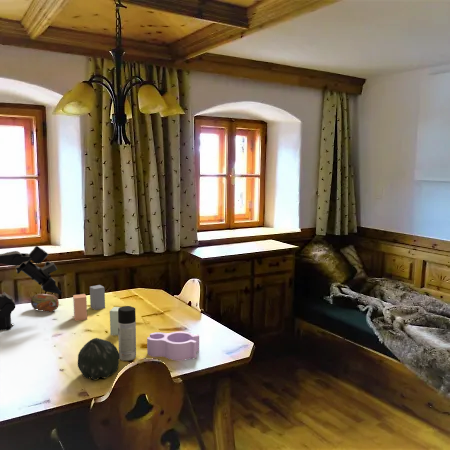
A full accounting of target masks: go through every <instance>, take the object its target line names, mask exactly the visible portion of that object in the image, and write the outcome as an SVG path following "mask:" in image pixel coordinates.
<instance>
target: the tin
mask: <svg viewBox="0 0 450 450" xmlns="http://www.w3.org/2000/svg"><path fill="white" fill-rule="evenodd" d="M59 304H60V302H59V299H58V297H57V296H56V295H54V294H50V293H49V294H46V293H38V294H34V295H33V296H31V299H30V305H31V307H32V309H34V310H35V309H38V310H43V311H42V312H46V311H49V312H48V313H52V312H54V311H56V310H57V309H58V308H59Z"/></svg>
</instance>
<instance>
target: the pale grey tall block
mask: <svg viewBox="0 0 450 450" xmlns="http://www.w3.org/2000/svg"><path fill="white" fill-rule="evenodd" d="M120 307H121V306H114V307H112V308H111V309H110V310H109V327H110V329H109V330H110V332H109V333H110V336H118V309H119V308H120Z"/></svg>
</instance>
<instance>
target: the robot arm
mask: <svg viewBox="0 0 450 450" xmlns="http://www.w3.org/2000/svg"><path fill="white" fill-rule="evenodd" d="M48 256H49V253H48V252H47V251H45V250H44V249H43V248H41V247H40V246H38V245H36V246H34V247H33V249H32V250H31V251H30V253H25V252H23V253H21V252H20V251H18V250H14V251H8V252H4V253H0V264H2V265H5V266H12V267H13V266H14V267H15V270H16V274H20V273H21V272H23V273H24V274H25V275H26V276H28V277H29V278H30V279H31V280H32V281H35V282H36V283H37V284H38V285H39V286H40V285H41V286H40V287H41V289H42V291H44V292H45V293H52V294H55V295H56V294H57V295H62V294H63V292H62V291H61V290H60V289H59V286H57V284H56V280H55V279H54V278H53V277H52V276H51V273H53V272H56V271H57V270H58V268H57V266H56V264H55V263H54V262H50V261H48V260H47V261H46V262H44V266H43V267H41V266H38V264H41V263H42V262H43V261H44V260H45V259H46V258H47V257H48ZM15 308H16V303H15V300H14V299H13V296H12V295H9V294H7V293H6V292H5V291H4V292H3V293H2V294H1V293H0V329H10V328H11V327H13V326H14V325H12V324H13V323H12V318H11V316H12V312H13V311H14V310H15ZM10 330H11V329H10Z"/></svg>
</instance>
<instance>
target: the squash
mask: <svg viewBox="0 0 450 450" xmlns="http://www.w3.org/2000/svg"><path fill="white" fill-rule="evenodd" d="M119 358H120V357H119V349H118V348H117V347H116V346H115V345H114V344H113V342H111V341H109V340H105V339H102V338H97V337H96V338H95V337H94V338H92V339H90V340H89V341H87V342H86V343H85V344H84V345H83V346H82V347H81V349H80V351H79V352H78V354H77V368H78V370H79V372H81V375H82V376H83V377H84V378H85V379H88V380H89V379H92V380H94V381H95V380H99V379H100V378H102V379H107V378H108V377H109V376H112V375H113V374H115V373H116V372H117V371H118V369H119V366H120V359H119Z"/></svg>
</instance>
